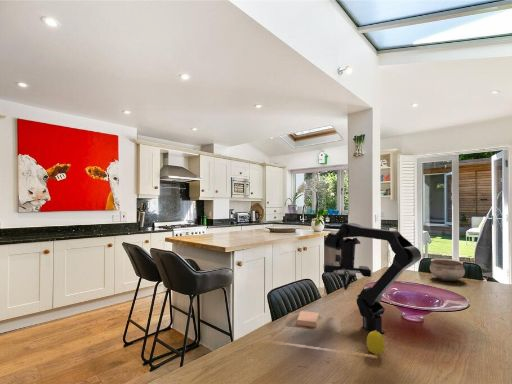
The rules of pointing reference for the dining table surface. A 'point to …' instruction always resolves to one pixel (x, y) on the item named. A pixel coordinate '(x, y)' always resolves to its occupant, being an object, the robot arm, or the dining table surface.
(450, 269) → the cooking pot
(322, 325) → the board
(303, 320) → the tile
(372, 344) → the lemon
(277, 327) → the dining table surface
